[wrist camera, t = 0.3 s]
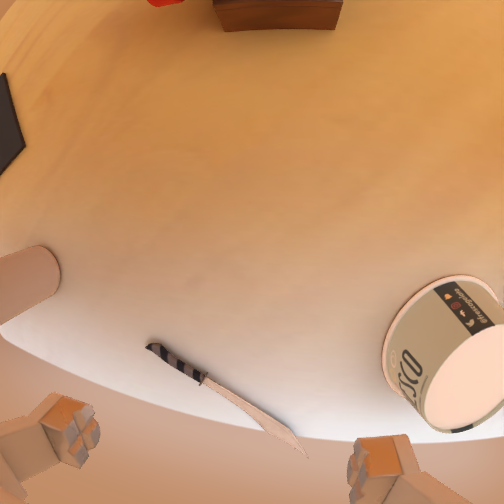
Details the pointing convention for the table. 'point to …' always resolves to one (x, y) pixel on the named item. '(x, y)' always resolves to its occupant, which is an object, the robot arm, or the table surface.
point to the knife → (230, 398)
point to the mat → (8, 127)
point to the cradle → (277, 14)
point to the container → (163, 2)
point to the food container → (449, 353)
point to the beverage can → (26, 280)
